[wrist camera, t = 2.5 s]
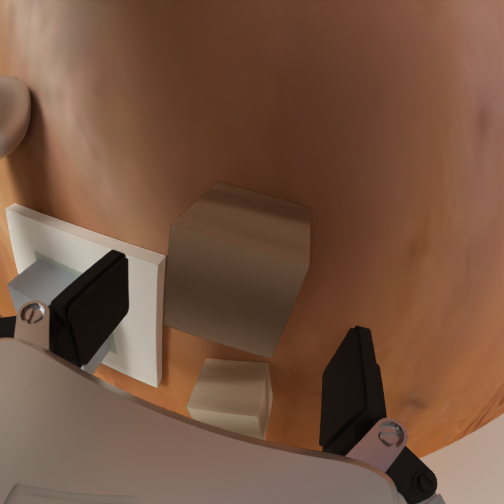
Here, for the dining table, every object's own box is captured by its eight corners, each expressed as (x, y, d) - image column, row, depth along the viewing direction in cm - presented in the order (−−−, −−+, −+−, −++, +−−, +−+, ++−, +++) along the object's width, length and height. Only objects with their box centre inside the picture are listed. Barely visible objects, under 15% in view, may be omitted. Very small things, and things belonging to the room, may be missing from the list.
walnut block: (218, 181, 15) (170, 225, 10) (310, 207, 15) (309, 266, 10) (204, 259, 18) (163, 324, 12) (284, 283, 17) (270, 358, 12)
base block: (39, 258, 19) (7, 284, 16) (101, 287, 19) (69, 321, 15) (53, 319, 23) (30, 345, 19) (110, 348, 22) (88, 380, 19)
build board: (14, 203, 19) (4, 208, 18) (166, 255, 18) (157, 266, 17) (40, 318, 26) (33, 325, 25) (162, 378, 25) (157, 388, 24)
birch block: (206, 357, 22) (186, 407, 18) (268, 361, 21) (257, 416, 17) (218, 392, 24) (203, 437, 20) (273, 397, 23) (263, 445, 19)
